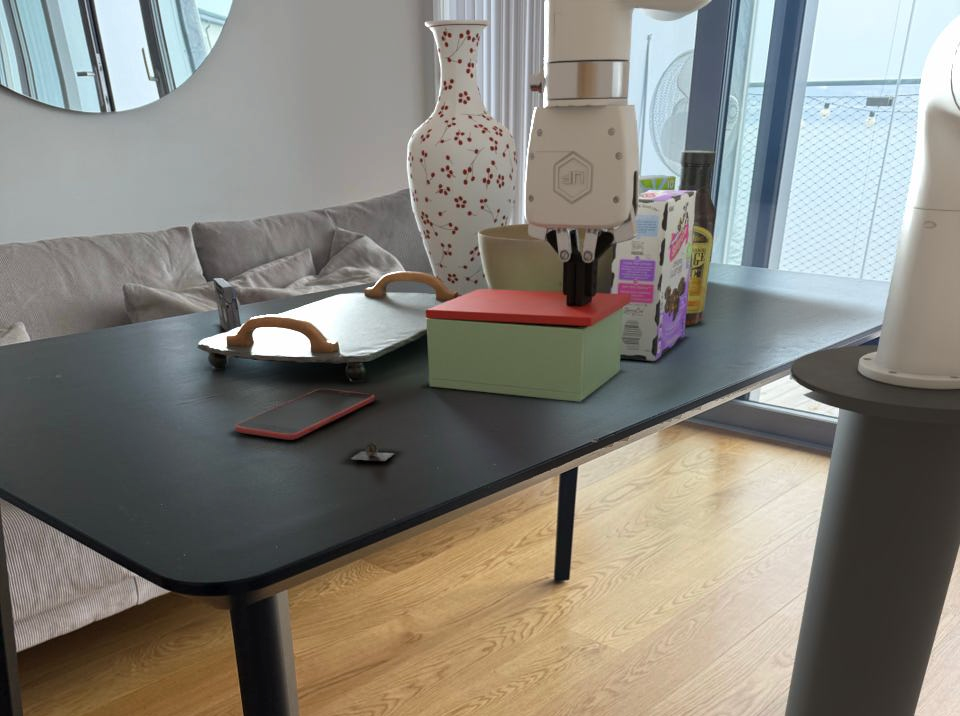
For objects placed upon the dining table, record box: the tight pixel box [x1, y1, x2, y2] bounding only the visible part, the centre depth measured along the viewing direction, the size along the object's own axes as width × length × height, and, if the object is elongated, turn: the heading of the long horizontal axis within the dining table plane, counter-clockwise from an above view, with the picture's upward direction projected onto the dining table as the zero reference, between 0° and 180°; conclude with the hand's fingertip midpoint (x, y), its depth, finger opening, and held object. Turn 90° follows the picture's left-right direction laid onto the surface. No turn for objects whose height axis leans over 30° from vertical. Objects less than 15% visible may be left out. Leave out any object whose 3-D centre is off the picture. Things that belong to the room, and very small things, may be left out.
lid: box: [426, 289, 631, 326], centre depth 92 cm, size 17×13×1 cm
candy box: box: [610, 189, 696, 362], centre depth 103 cm, size 14×6×16 cm, turn 155°
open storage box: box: [426, 307, 623, 403], centre depth 94 cm, size 17×13×7 cm
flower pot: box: [478, 223, 614, 294], centre depth 111 cm, size 18×18×12 cm
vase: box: [406, 19, 518, 297], centre depth 131 cm, size 16×16×35 cm
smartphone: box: [234, 388, 375, 441], centre depth 86 cm, size 7×1×14 cm
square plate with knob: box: [350, 441, 395, 462], centre depth 75 cm, size 3×3×1 cm
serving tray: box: [196, 270, 459, 383], centre depth 111 cm, size 39×23×6 cm, turn 157°
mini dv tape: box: [212, 277, 242, 332], centre depth 120 cm, size 8×2×6 cm, turn 23°
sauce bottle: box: [677, 150, 717, 327], centre depth 114 cm, size 6×6×20 cm
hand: (579, 303), depth 90 cm, fingers closed
